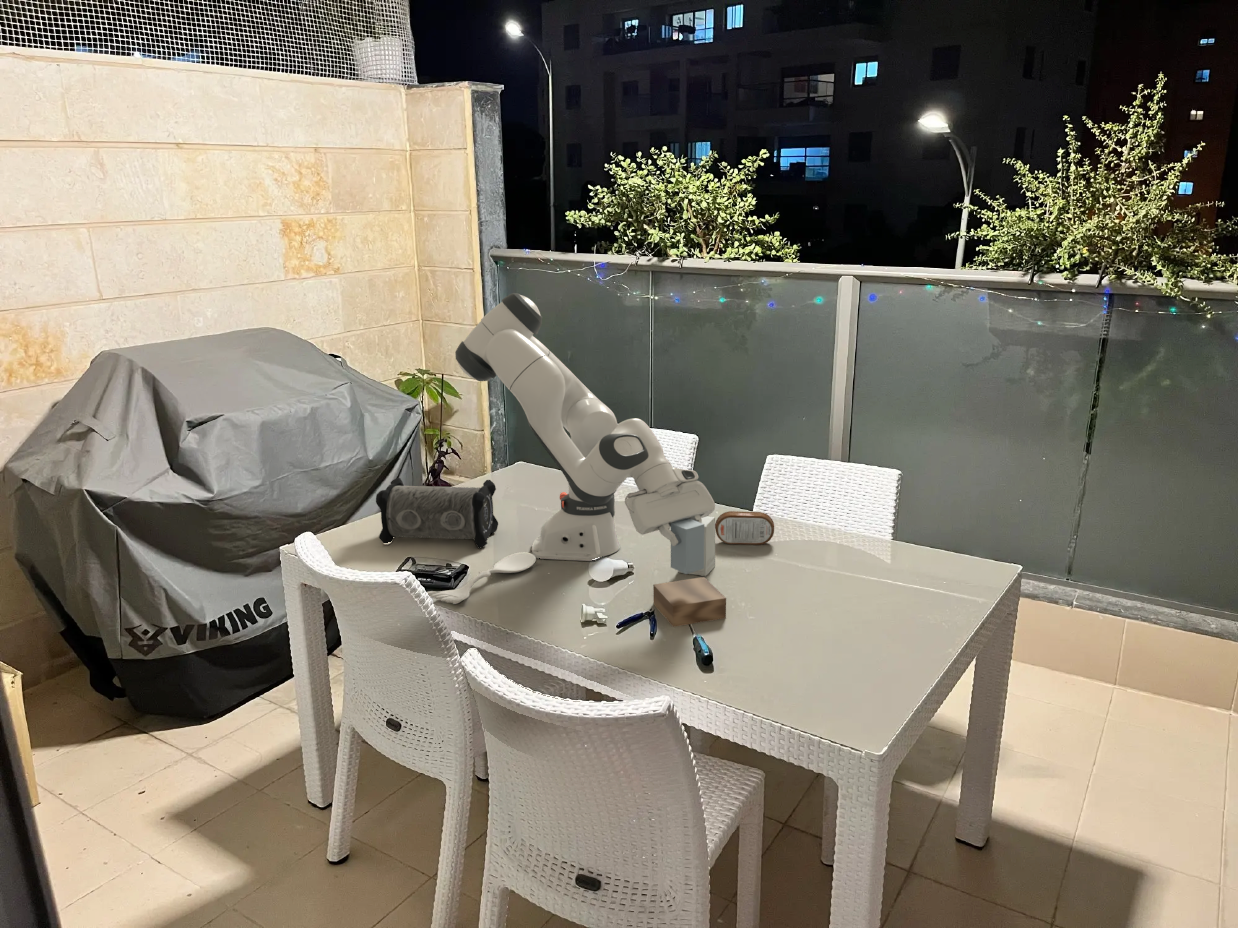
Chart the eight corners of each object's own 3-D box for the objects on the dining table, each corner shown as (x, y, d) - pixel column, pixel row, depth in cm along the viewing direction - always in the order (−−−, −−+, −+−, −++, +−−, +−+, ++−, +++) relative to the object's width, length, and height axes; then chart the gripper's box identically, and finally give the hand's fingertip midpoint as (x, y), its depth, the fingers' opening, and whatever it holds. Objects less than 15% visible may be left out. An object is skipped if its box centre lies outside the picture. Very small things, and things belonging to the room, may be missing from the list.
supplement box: (716, 565, 230) (716, 516, 227) (705, 577, 224) (706, 526, 220) (687, 561, 233) (687, 512, 230) (676, 572, 227) (676, 522, 223)
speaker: (485, 551, 243) (481, 495, 239) (378, 547, 247) (372, 492, 242) (499, 530, 257) (496, 477, 253) (398, 527, 261) (393, 475, 257)
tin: (773, 541, 245) (774, 510, 243) (774, 546, 242) (775, 515, 240) (714, 540, 246) (715, 510, 244) (714, 545, 243) (715, 514, 241)
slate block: (670, 567, 204) (670, 523, 201) (688, 561, 207) (688, 518, 204) (686, 574, 200) (686, 529, 197) (703, 568, 203) (704, 524, 200)
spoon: (424, 605, 212) (423, 591, 211) (514, 558, 238) (514, 545, 237) (455, 614, 208) (454, 599, 207) (543, 565, 233) (543, 552, 232)
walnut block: (673, 628, 199) (673, 606, 198) (653, 605, 210) (653, 584, 209) (725, 619, 203) (726, 597, 201) (703, 597, 214) (704, 576, 212)
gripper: (627, 487, 197) (657, 545, 193) (701, 469, 209) (731, 523, 204) (615, 502, 202) (644, 559, 197) (688, 484, 214) (717, 537, 209)
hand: (689, 540), depth 201 cm, fingers closed on slate block, 5 cm apart
